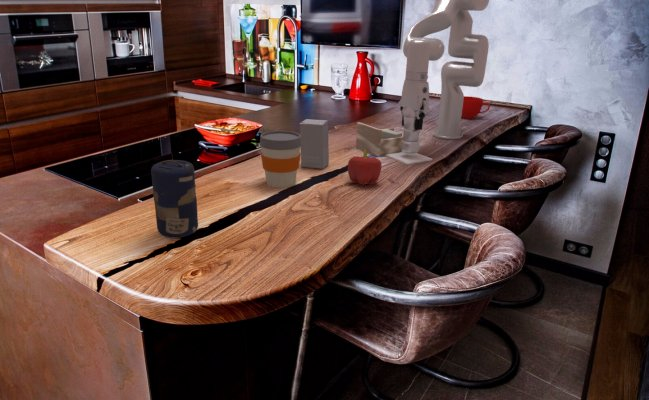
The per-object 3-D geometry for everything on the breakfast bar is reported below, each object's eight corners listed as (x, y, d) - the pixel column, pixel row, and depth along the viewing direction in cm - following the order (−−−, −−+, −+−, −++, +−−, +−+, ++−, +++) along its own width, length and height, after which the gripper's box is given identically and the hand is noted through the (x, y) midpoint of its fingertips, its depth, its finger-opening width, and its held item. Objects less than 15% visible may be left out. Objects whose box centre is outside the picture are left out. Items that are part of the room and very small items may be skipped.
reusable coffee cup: (285, 192, 145) (285, 143, 139) (252, 184, 151) (250, 136, 145) (309, 181, 155) (309, 134, 149) (277, 173, 161) (276, 128, 155)
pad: (410, 152, 189) (410, 150, 189) (432, 160, 180) (432, 158, 180) (385, 156, 183) (385, 154, 183) (407, 164, 174) (407, 163, 174)
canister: (181, 220, 124) (175, 152, 118) (207, 230, 119) (202, 159, 113) (149, 233, 117) (140, 161, 110) (175, 244, 112) (168, 169, 105)
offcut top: (387, 135, 196) (387, 129, 195) (401, 139, 191) (402, 133, 190) (380, 136, 194) (380, 130, 193) (395, 140, 189) (396, 134, 188)
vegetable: (347, 176, 160) (348, 146, 157) (378, 177, 160) (380, 147, 156) (347, 188, 150) (348, 156, 146) (381, 189, 150) (383, 157, 146)
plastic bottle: (418, 156, 177) (424, 100, 170) (399, 154, 179) (404, 99, 171) (418, 151, 183) (424, 97, 176) (400, 150, 184) (405, 96, 177)
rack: (393, 142, 203) (395, 118, 199) (416, 150, 192) (418, 125, 188) (355, 147, 194) (357, 122, 190) (377, 156, 183) (379, 130, 179)
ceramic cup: (484, 123, 242) (486, 102, 239) (450, 118, 251) (453, 98, 247) (491, 118, 253) (494, 99, 249) (459, 114, 261) (461, 95, 257)
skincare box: (328, 164, 172) (330, 119, 166) (322, 170, 165) (323, 124, 160) (306, 161, 174) (306, 117, 168) (298, 167, 168) (299, 121, 162)
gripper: (442, 79, 166) (436, 131, 173) (408, 73, 180) (403, 121, 186) (425, 80, 162) (420, 134, 169) (392, 74, 176) (388, 123, 182)
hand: (411, 127), depth 177 cm, fingers closed on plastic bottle, 6 cm apart
